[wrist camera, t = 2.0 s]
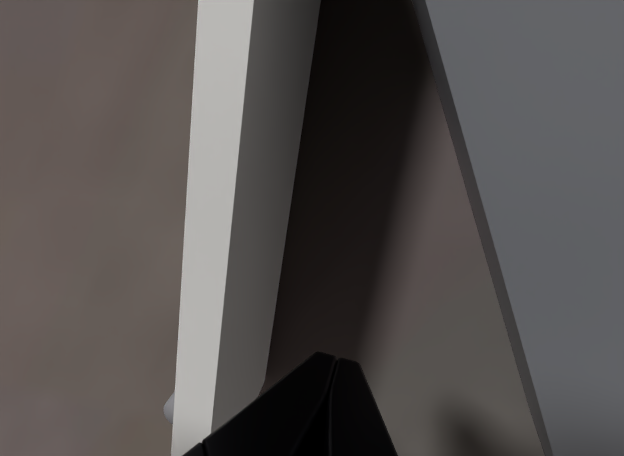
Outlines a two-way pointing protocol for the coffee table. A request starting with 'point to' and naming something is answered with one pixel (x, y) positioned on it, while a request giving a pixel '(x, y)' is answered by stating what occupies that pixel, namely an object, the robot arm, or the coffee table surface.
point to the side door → (237, 202)
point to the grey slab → (545, 193)
